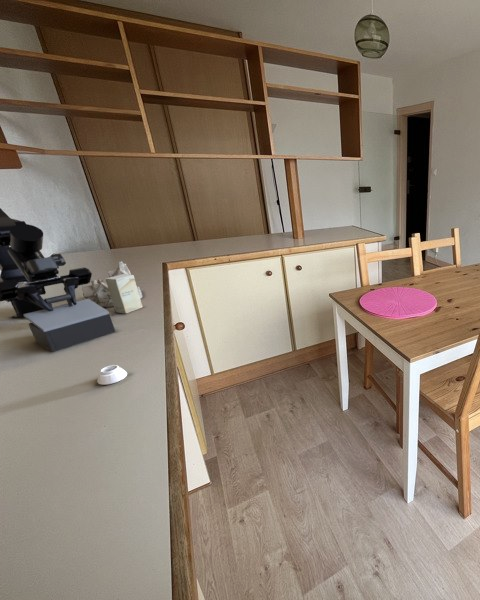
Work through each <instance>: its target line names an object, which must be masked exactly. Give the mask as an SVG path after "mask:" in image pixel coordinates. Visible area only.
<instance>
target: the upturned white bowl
mask: <svg viewBox="0 0 480 600" xmlns="http://www.w3.org/2000/svg"><path fill="white" fill-rule="evenodd" d="M127 375H128V372H127V371H126V370H125V369H123V368H122V367H121V366H119V365H116V364H110V365H106V366H105V367H103V368H101V369H100V372H99V374H98V377H97V380H96V381H97V384H98V385H104V386H105V385H112V384H116V383H118V382H120V381H122V380H124V379H125V378H126V377H127Z"/></svg>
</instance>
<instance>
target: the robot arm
mask: <svg viewBox="0 0 480 600" xmlns="http://www.w3.org/2000/svg"><path fill="white" fill-rule="evenodd" d="M43 243H44V232H43V230H42V229H41V228H40V227H37V226H35V225H33V224H28V223H26V221H25V220H19V219H15V218H12V217H10V216H9V215H8V214H7V213H6V212H5V211H4V210H3V209H2V208H1V207H0V302H7V303H9V302H10V304H11V305H12V308H13V310H14V312H15V314H14V315H11V316H10V317H11V318H12V319H26V318H25V317H24V315H23V314H27V313H31V312H35V311H39V310H44V309H45V310H47V311H51V308H50V307H49V305H48V304H47V303H46V302H45V300H44V299H45V298H43V295H44V296H45V295H46V293H47V292H46V288H45V287H49V286H55V285H60V284H63V291H64V293H65V294H70V295H71V298H72V299H71V302H72V303H73V304H74V305H76V304H77V303H76V302H77V297H76V291H75V290H76V289H78V288H79V286H85V285H88V284H90V283H91V281H92V275H93V273H92V272H91V270H90V269H89V268H88V267H78V268H73V269H69V270H68V271H69V272H68V274H64V275H59V274H60V271H59V270H58V269H60V267H63V266H65V265H66V264H67V262H66V260H65V258H64V257H63V255H62V254H61V253H55V254H51V255H50V256H47V257H45V256H44V254H43V253H42V251H41V250H43V245H44V244H43ZM58 275H59V276H58Z"/></svg>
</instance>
